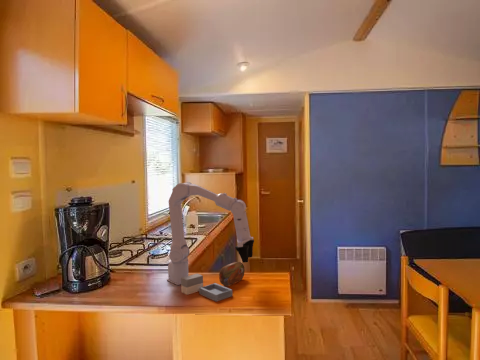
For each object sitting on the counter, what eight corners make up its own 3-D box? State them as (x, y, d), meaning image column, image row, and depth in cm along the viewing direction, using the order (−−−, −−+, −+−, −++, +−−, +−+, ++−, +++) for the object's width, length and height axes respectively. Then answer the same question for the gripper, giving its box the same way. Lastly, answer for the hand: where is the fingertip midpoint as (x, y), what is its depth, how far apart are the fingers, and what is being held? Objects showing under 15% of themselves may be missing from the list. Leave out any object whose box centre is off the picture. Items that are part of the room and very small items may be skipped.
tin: (223, 288, 145) (223, 268, 145) (218, 287, 147) (217, 267, 147) (245, 278, 157) (244, 260, 157) (239, 277, 159) (239, 259, 159)
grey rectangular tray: (199, 294, 139) (199, 287, 139) (215, 288, 145) (215, 283, 145) (216, 301, 131) (216, 295, 131) (232, 295, 136) (232, 289, 136)
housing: (181, 292, 142) (181, 277, 142) (197, 287, 147) (197, 273, 147) (186, 295, 139) (186, 280, 139) (203, 289, 144) (202, 275, 144)
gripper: (246, 230, 141) (252, 263, 141) (255, 224, 155) (260, 254, 155) (230, 232, 143) (236, 265, 143) (240, 226, 157) (245, 255, 157)
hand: (247, 259), depth 149 cm, fingers open, 7 cm apart
